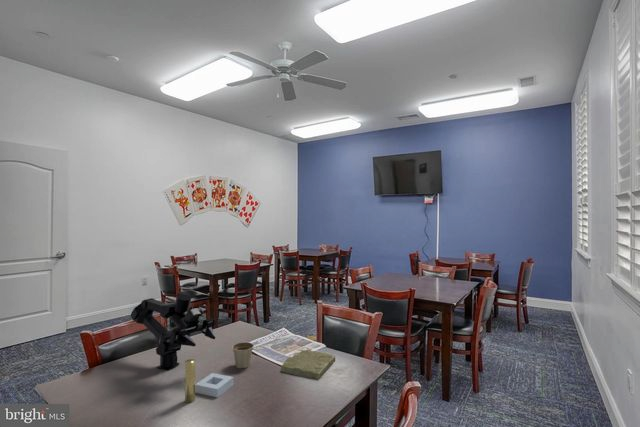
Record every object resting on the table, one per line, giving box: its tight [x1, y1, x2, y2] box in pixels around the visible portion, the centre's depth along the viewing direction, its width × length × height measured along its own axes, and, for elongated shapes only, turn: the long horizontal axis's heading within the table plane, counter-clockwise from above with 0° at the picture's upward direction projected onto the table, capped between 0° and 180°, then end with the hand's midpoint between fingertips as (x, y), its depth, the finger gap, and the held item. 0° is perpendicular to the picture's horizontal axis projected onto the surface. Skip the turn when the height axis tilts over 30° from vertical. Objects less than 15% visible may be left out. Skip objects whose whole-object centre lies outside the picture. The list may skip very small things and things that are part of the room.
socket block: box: [195, 372, 235, 398], centre depth 130 cm, size 10×10×3 cm
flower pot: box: [231, 341, 255, 369], centre depth 150 cm, size 9×9×9 cm
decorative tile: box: [280, 349, 336, 380], centre depth 151 cm, size 19×20×4 cm
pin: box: [184, 358, 196, 404], centre depth 122 cm, size 3×3×14 cm
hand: (205, 341), depth 135 cm, fingers open, 9 cm apart
